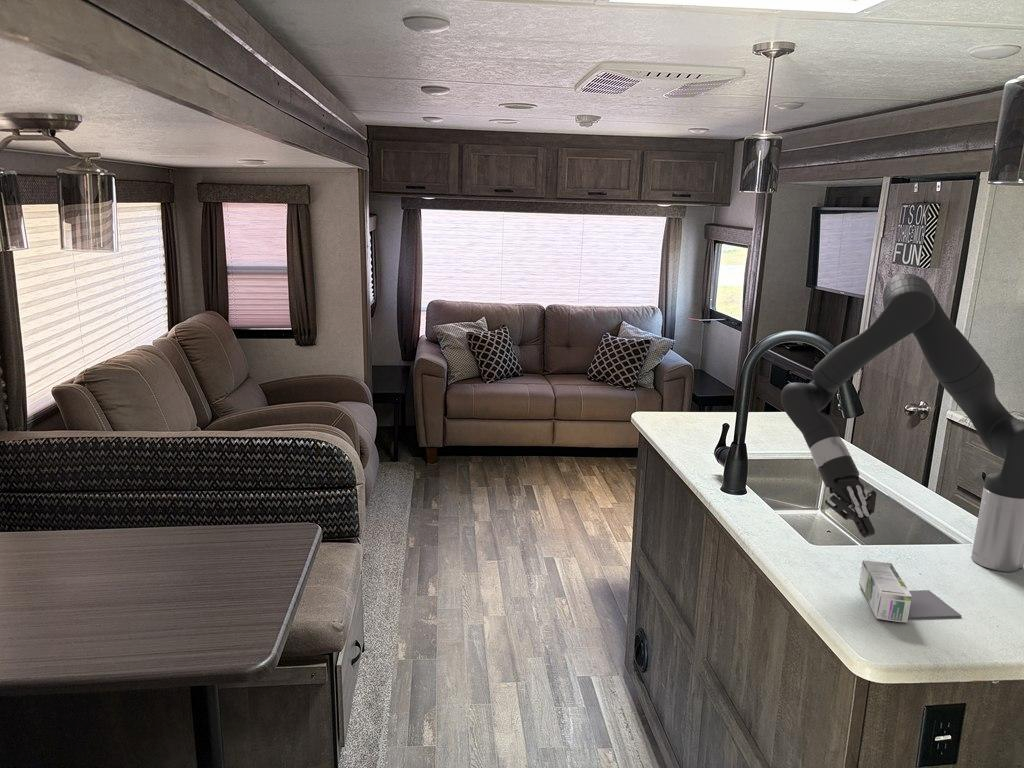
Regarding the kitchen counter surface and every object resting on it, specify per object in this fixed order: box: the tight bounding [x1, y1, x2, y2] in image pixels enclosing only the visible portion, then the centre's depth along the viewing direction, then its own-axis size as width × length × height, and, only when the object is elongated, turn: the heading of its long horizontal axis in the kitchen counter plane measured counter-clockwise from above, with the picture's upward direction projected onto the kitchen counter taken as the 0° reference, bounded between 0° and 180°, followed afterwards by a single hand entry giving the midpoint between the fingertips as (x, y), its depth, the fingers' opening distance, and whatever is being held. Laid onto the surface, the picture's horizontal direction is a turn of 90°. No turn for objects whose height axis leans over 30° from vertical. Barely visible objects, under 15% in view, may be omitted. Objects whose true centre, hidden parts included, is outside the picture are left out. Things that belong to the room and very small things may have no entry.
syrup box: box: [858, 560, 912, 623], centre depth 151 cm, size 6×6×14 cm
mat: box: [908, 589, 962, 620], centre depth 152 cm, size 14×10×1 cm
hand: (869, 535), depth 159 cm, fingers closed
